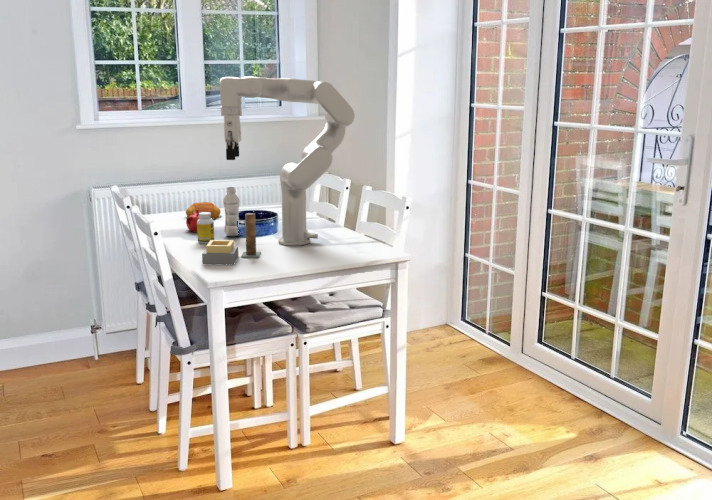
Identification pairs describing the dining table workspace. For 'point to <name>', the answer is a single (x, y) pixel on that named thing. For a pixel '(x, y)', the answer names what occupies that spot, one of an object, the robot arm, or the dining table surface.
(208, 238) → the pill bottle
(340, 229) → the dining table surface
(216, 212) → the croissant
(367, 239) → the dining table surface
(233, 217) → the plastic bottle
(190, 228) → the pomegranate
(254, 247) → the brown wooden tall bar
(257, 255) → the coaster
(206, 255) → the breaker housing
